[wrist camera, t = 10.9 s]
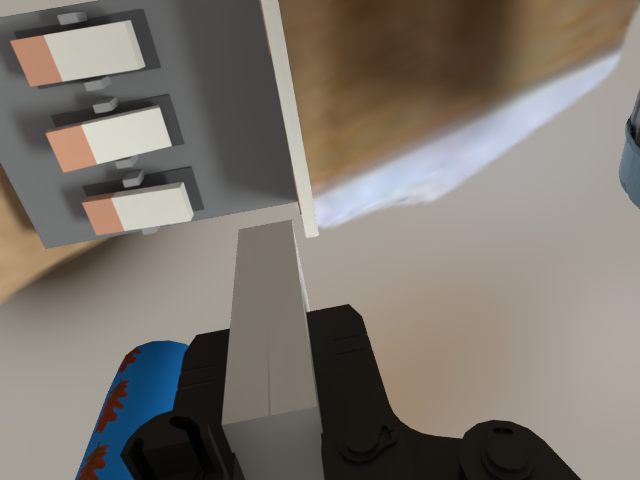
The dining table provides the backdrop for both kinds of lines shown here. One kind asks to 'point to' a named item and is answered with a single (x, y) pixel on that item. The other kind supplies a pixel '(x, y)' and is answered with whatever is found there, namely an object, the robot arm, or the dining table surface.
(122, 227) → the switch
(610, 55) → the dining table surface
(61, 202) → the switch unit
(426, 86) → the dining table surface
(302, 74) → the dining table surface
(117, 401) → the thermos
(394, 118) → the dining table surface
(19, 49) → the switch
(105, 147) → the switch
